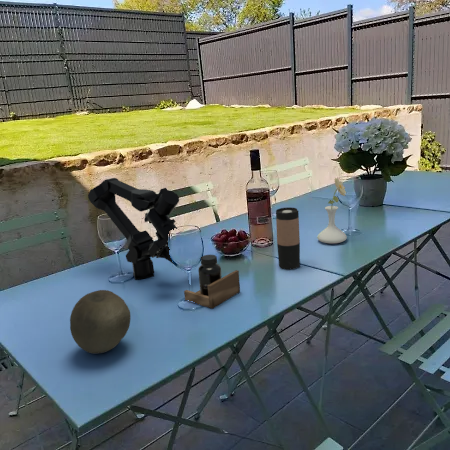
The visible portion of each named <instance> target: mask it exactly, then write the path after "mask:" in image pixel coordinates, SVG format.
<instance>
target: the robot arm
mask: <svg viewBox="0 0 450 450" xmlns="http://www.w3.org/2000/svg"><path fill="white" fill-rule="evenodd" d="M116 196H118V197H121V198H123V199H124V200H126V201H129V202H130V203H131V206H132V207H133V208H134V209H135V210H137V211H138V212H145V211H148V212H146V213H144V223H147V222H150V223H151V225H152V226H153V227H154V229H155V230H156V232H155V236H156V238H157V239H156V240H154V238H153V236H152V235H150V233H149V232H148V231H147V230H146V229H145V230H142V231H140V230H139V229H138V228H137V226H135V224H134V223H133V222H132V221H131V219H130V218H129V217H128V216H127V214H125V212H124V211H123V210H122V208H121V207H120V206H119V205H118V203H117V202H116ZM87 198H88V201H89V202H90V203H91V205H93V206H94V207H95V209H99V210H100V211H103V212H104V213H105V214H106V215H107V216H108V218H109V219H110V220H111V221H112V223H113V224H114V225H115V226H116V228H117V230H119V232H121V234H122V235H123V236H124V238H125V240H127V249H128V251H127V253H126V255H125V258H126V261H127V262H128V263H131V264H132V271H133V272H132V274H133V277H134V280H141V279H142V280H143V279H147V278H151V277H155V274H154V273H155V268H154V261H153V260H152V258H156V259H159V258H160V259H165V260H166V261H169V262H170V263H171V264H172V265H174V266H175V267H177V266H176V265H175V264H174V263H173V262H172V260H171V258H170V255H169V250H170V249H169V247H168V234H169V231H170V230H172V229H173V230H174V228H176V229H178V227H177V226H176V224H175V223H176V220H175V219H174V218H173V219H172V218H170V215H171V214H172V213H173V212H174V210H175V208H176V207H177V206H178V203H179V202H180V197H179V195H178V194H177V193H176V192H174V191H172V190H168V188H167V187H163V188H160V190H159V191H158V193H157V192H155V190H151V189H147V188H145V189H144V188H143V189H140V188H137V187H134V186H133V185H130V184H128V183H125V182H123V181H121V180H119V178H117V177H112V178H106V179H104V180H103V181H102V182H100V184H98V185H97V186H95V187H93V188H90V190H89V192H88V194H87ZM194 226H195V227H198V226H197V225H194ZM198 228H199V227H198ZM199 230H200V233H201V232H202V230H201V229H200V228H199Z"/></svg>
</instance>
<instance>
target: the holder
mask: <svg viewBox="0 0 450 450" xmlns="http://www.w3.org/2000/svg"><path fill="white" fill-rule="evenodd" d="M240 284H241V283H240V272H239V270H237V269H236V270H234V271H231V272H229V273H228V274H226V275H225V276H223V277H222V278H221V279H219V280H217V281H215V282H213V283H211V284H210V285H208V296H205V295H202V294H200V289H199V290H198V291H192V290H188V289H185V290H184V291H183V293H184V301H186V300H189V301H193V302H195V303H194V304H196V303H197V304H196V305H199V304H200V305H199V306H202V307H205V308H208V309H211V310H213V309H215V308H216V307H218V306H220V305H221V304H223V303H225V302H226V301H227V300H229V299H231V298H233V297H235V296H236V295H237V294H240V293H241V285H240ZM189 301H188V302H189Z"/></svg>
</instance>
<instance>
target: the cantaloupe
mask: <svg viewBox="0 0 450 450" xmlns="http://www.w3.org/2000/svg"><path fill="white" fill-rule="evenodd" d="M130 310H131V309H130V308H129V307H128V305H127V303H126V302H125V300H124V299H123V298H122V297H121V296H119V295H118V294H116V293H114V292H113V291H110V290H107V289H98V290H95V291H92V292H89V293H87V294H85V295H83V296H82V297H81V298H79V300H78V301H77V302H76V303H75V304H74V306H73V308H72V311H71V314H70V317H69V322H70V323H69V324H70V325H69V328H70V329H69V330H70V334H71V336H72V339H73V340H74V342H75V343H76V344H77V345H78V347H79V348H81V349H82V350H83V351H85V352H86V353H90V354H95V355H96V354H104V353H107V352H109V351H111V350H113V349H114V348H116V347H117V345H119V344H120V342H121V341H122V339H123V338H125V336H126V334H127V333H128V331H129V328H130V325H131V311H130Z"/></svg>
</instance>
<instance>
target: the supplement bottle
mask: <svg viewBox="0 0 450 450" xmlns="http://www.w3.org/2000/svg"><path fill="white" fill-rule="evenodd" d="M197 271H198V281H199V290H200V294H202V295H205V296H208V285H210V284H211V283H213V282H215V281H217V280H219V279H221V278H222V267H221V265H220V264H218V257H217V255H215V254H205V255H202V257H201V258H200V266H199V267H198V269H197Z"/></svg>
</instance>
